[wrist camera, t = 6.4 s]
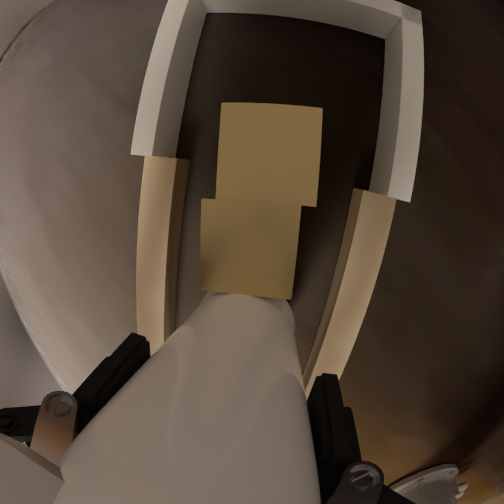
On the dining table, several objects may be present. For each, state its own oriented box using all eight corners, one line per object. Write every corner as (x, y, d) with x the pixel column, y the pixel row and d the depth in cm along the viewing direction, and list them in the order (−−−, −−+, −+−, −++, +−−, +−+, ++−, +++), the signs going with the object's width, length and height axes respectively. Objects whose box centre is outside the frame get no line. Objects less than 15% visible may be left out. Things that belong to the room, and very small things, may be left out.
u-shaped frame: (402, 31, 11) (420, 11, 8) (387, 196, 14) (409, 202, 11) (192, 0, 12) (177, -24, 9) (156, 156, 15) (130, 154, 12)
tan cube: (312, 125, 14) (322, 108, 10) (307, 198, 15) (316, 207, 11) (237, 120, 14) (221, 102, 10) (233, 193, 15) (215, 199, 11)
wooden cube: (296, 197, 15) (301, 205, 11) (290, 269, 16) (291, 299, 12) (222, 192, 15) (201, 198, 11) (219, 263, 16) (200, 290, 12)
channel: (383, 195, 14) (396, 198, 12) (299, 439, 20) (299, 457, 18) (161, 157, 15) (145, 155, 13) (155, 409, 20) (147, 424, 18)
